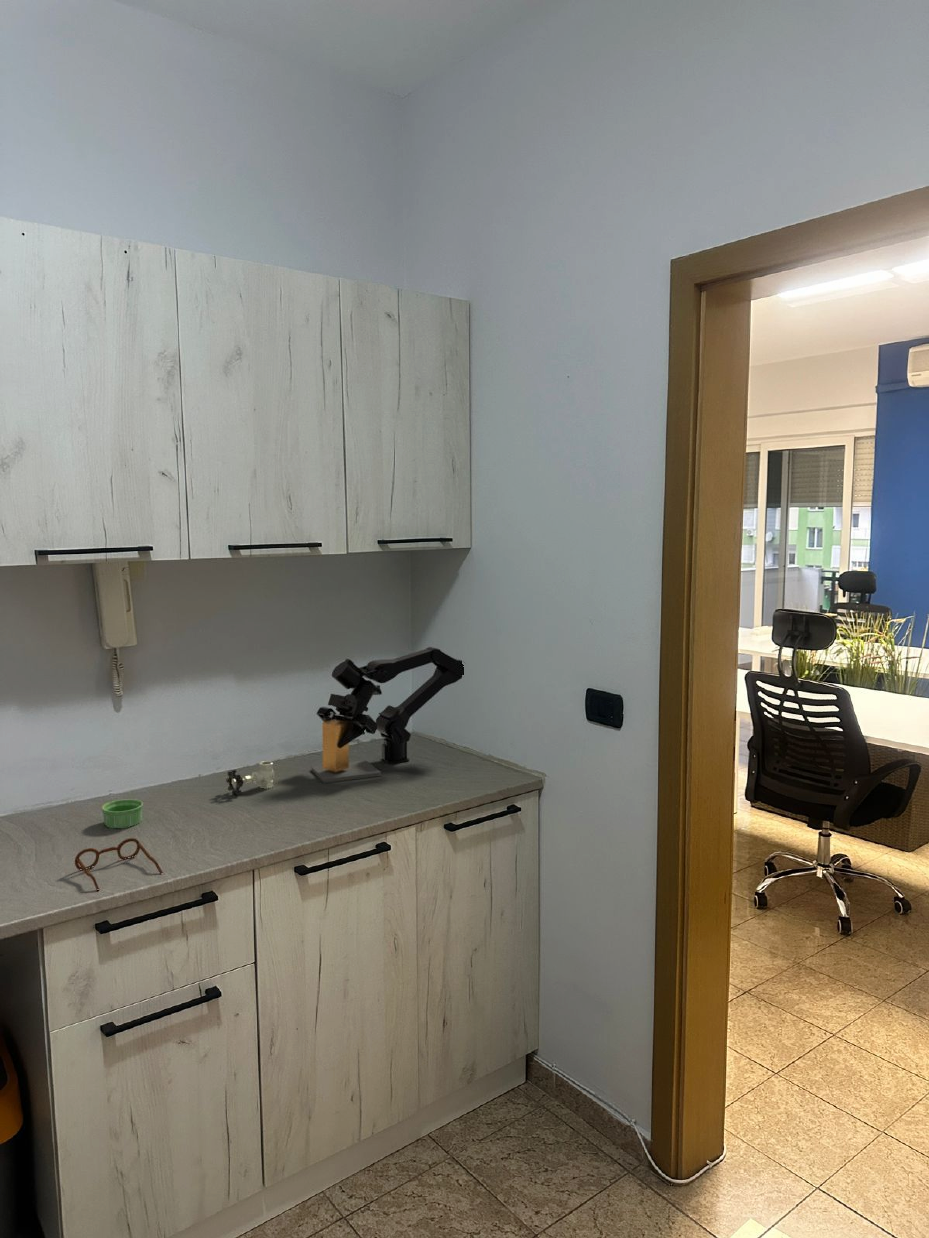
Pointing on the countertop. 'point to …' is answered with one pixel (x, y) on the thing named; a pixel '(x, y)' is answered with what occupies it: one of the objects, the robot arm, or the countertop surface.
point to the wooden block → (334, 746)
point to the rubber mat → (347, 772)
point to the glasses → (108, 851)
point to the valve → (252, 778)
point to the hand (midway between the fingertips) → (332, 745)
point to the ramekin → (122, 813)
